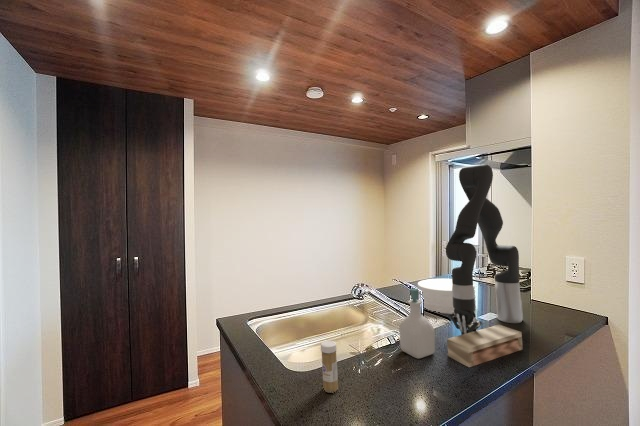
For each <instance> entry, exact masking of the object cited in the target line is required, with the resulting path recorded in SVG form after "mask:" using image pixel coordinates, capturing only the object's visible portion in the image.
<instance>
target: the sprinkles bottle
mask: <svg viewBox="0 0 640 426" xmlns="http://www.w3.org/2000/svg"><path fill="white" fill-rule="evenodd" d="M337 348H338V347H337V343H336V342H335V341H333V340H324V341H322V342H321V343H320V351H321V363H322V364H321V365H322V368H321V371H322V372H321V373H322V389H323V388H324V390H326V391H330V392H331V391H332V392H333V391H336V390H337V389H338V390H339V384H338V383H339V382H338V378H339V377H338V360H337V359H338V358H337ZM324 390H323V391H324Z"/></svg>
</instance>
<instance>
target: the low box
mask: <svg viewBox="0 0 640 426" xmlns="http://www.w3.org/2000/svg"><path fill="white" fill-rule="evenodd" d="M522 334H523V333H522V331H519V330H516V329H514V328H510V327H507V326H504V325H502V324H496V325H492V326H490V327H486V328H485V327H484V328H481V329H477V330H476V331H473V332H470V333H466V334H463V335H461V334H460V335H456V336H451V337H448V338H446V345H447V346H446V347H447V357H449V358H451V359H453V360H454V361H456V362H458V363H459V364H461V365H464V366H466V367H468V368H471V367H475V366H477V365H480V364H484V363H486V362H489V361H492V360H495V359H498V358H501V357H505V356H507V355H510V354H513V353H516V352H519V351H522V350H523V349H524V348H523V335H522Z"/></svg>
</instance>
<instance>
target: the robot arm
mask: <svg viewBox="0 0 640 426" xmlns="http://www.w3.org/2000/svg"><path fill="white" fill-rule="evenodd" d="M458 178H459V183H460V186H461V187H462V189H463V190H462V191H463V192H464V193H465V196H466V198H467V200H468V202H467V203H466V204H465V205H464V206H463V207H462V209H461V211H460V212H459V213H458V216H457V221H456V223H455V224H456V225H455V228H454V229H455V230H454V232H453V233H452V235H451V237H450V238H449V241H447V244H446V246H445V255H446V257H447V258H448V259H449V260H451V261H453V262H455V261H456V262H461V265H460V266H457V267H453V268H452V269H451V279H452V297H453V307H454V308H455V309H454V312H453V313H450V314H448V315H449V317H450V319H451V321H452V322H453V324H454V326H455V328H456V329H458V330H459V331H460V335H463V334H466V333H470V332H473V331H477V330H479V328H480V326H482V325H483V323H482V321H481V320H478V319H477V317H476V313H475V311H476V309H475V300H476V293H475V294H474V290H475V289H474V287H473V284H474V277H473V272H474V268H475V264H476V260H477V250H476V247H475V245H474V244H472V243H469V242H465V241H467V240H469V239H473V238H474V237H475V235H476V233H477V232H476V231H477V228H478V227H479V230H480V232H481V235H482V237H483V240H484V244H485V247H486V251H487V254H488V258H489V261H490V262H491V263H492V265H495V266H499V267H501V266H502V267H507V270H505V271H502V272H498V273H495V275H494V286H495V299H496V300H495V301H496V302H495V303H496V317H497V320H499V321H501V322H503V323H508V324H509V323H510V324H520V323H522V321H524V315H523V302H522V301H523V300H522V297H521V290H520V289H521V288H520V287H521V286H520V257H519V255H520V253H519V249H518V248H517V246H515V245H501V244H500V245H499V244H498V243H497V237H498V235H500V232H501V230H502V228H503V225H504V220H503V217H502V214H501V211H500V209H499V208H498V207H497V205H496V204H494V203H493V202H492V201H491V200H489V199H488V198H487V196H488V193H489V191H490V189H491V186H492V183H493V180H494V172H493V169H492V167H491V166H490V165H489V164H476V165H469V166H468V165H467V166H463V167H462V168H461V169H460V170H459V173H458ZM477 226H478V227H477Z"/></svg>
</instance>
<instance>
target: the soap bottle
mask: <svg viewBox="0 0 640 426" xmlns="http://www.w3.org/2000/svg"><path fill="white" fill-rule="evenodd" d="M409 293H410V299H409V300H408V301H407V303H408V304H409V306H410V307H409V309H410V312H409V315H408V314H407V316H406V317H405V318H404V319H403V320H402V321H401V322H400V324H399V327H398V328H399V345H400V349H401V350H402V351H403V352H404V353H406V354H407V355H410V356H412V357H413V358H416V359H419V360H420V359H423V358H425V357H428V356H431V355H434V353H435V352H436V335H435V328H434V326H433V324H432V323H431V322H430V321H429V320H428V319H427V317H425V316H424V315H423V314H422V313H421V307H420V304H421V303H422V302H421V301H420V300H419V295H418V293H419V294H420V295H422V294H421V293H420V292H419V291H418V288H409ZM422 296H423V295H422Z"/></svg>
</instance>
